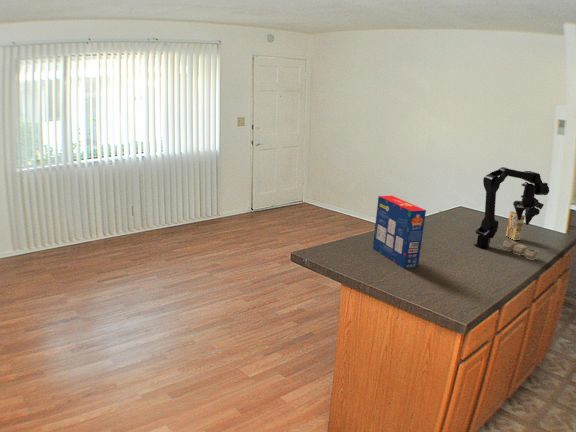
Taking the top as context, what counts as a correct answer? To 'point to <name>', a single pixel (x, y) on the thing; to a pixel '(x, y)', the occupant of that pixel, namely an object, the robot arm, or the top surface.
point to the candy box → (514, 226)
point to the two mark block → (509, 245)
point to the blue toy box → (399, 231)
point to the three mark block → (531, 253)
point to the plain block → (519, 249)
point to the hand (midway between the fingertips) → (523, 222)
